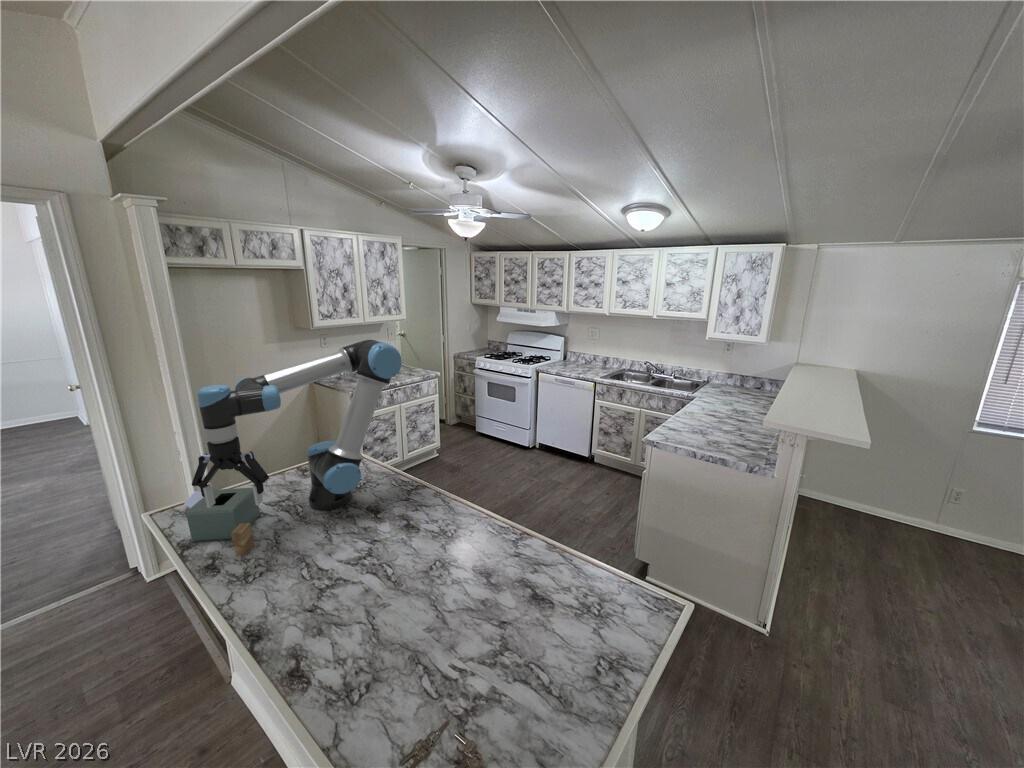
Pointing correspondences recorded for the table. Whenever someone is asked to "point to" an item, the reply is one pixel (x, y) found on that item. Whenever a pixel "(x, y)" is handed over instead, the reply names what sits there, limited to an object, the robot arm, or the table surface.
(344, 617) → the table surface
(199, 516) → the coin box
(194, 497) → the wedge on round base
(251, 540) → the block
